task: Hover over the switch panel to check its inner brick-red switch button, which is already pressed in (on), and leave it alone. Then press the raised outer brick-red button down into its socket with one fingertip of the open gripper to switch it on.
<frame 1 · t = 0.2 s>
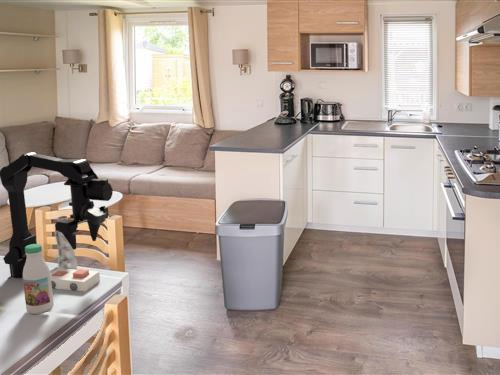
hand: (84, 245, 179), 14 cm above the table, tool pointing down, fingers open, 9 cm apart
outer button: (80, 274, 180), point 5 cm above the table, slide at 0.0 cm
plastic bottle: (68, 271, 195), on the table
inner button: (60, 275, 182), point 3 cm above the table, slide at 1.2 cm
switch panel: (71, 285, 182), on the table
milk bottle: (40, 309, 165), on the table
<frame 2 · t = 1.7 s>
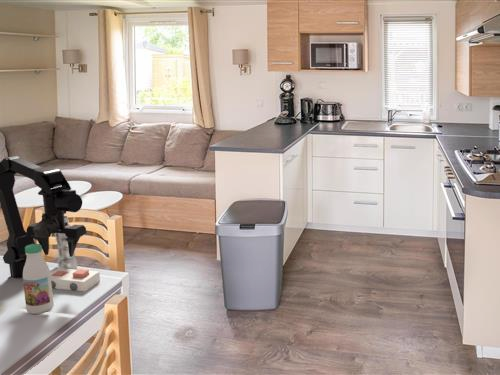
hand: (59, 255, 178), 11 cm above the table, tool pointing down, fingers open, 9 cm apart
nothing on the table moved.
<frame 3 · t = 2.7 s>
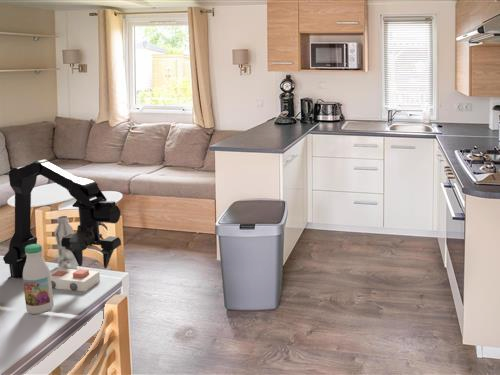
hand: (93, 266, 178), 7 cm above the table, tool pointing down, fingers open, 9 cm apart
nothing on the table moved.
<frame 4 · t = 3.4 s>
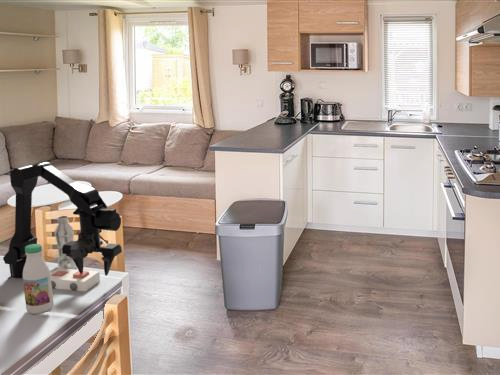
hand: (93, 274, 178), 5 cm above the table, tool pointing down, fingers open, 9 cm apart
outer button: (81, 275, 180), point 4 cm above the table, slide at 0.5 cm, touching gripper
everything else where it was.
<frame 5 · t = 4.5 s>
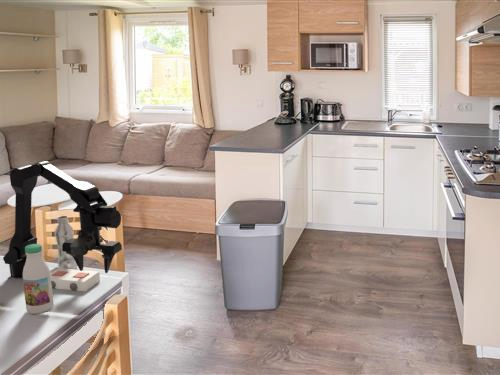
hand: (94, 271, 178), 6 cm above the table, tool pointing down, fingers open, 9 cm apart
outer button: (81, 277, 180), point 3 cm above the table, slide at 1.1 cm
everything else where it was.
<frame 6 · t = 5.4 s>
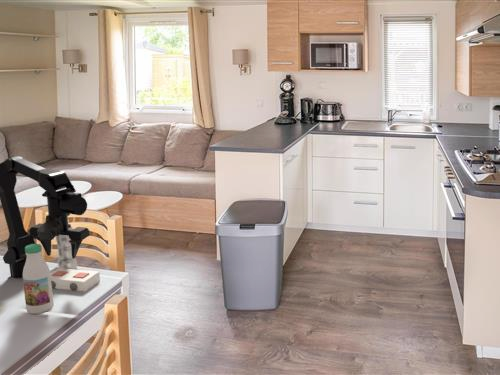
hand: (61, 257, 178), 11 cm above the table, tool pointing down, fingers open, 9 cm apart
nothing on the table moved.
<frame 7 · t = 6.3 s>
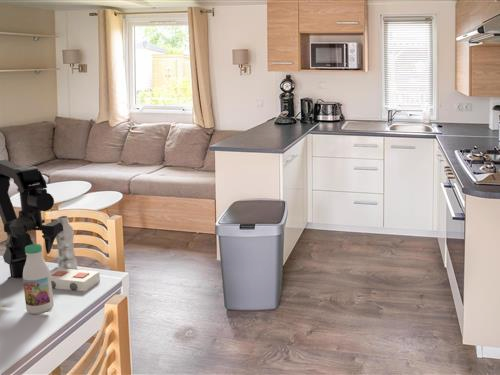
hand: (36, 252, 179), 12 cm above the table, tool pointing down, fingers open, 9 cm apart
nothing on the table moved.
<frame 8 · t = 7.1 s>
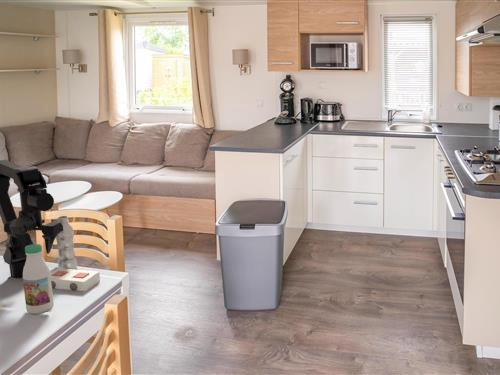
hand: (36, 252, 179), 12 cm above the table, tool pointing down, fingers open, 9 cm apart
nothing on the table moved.
at the end: outer button slide at 1.1 cm; inner button slide at 1.2 cm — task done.
